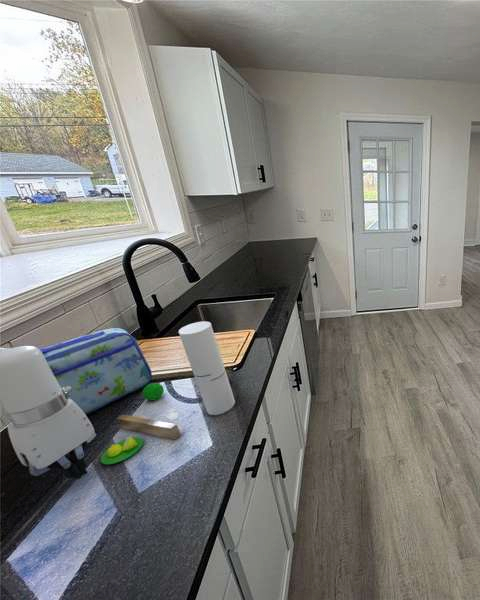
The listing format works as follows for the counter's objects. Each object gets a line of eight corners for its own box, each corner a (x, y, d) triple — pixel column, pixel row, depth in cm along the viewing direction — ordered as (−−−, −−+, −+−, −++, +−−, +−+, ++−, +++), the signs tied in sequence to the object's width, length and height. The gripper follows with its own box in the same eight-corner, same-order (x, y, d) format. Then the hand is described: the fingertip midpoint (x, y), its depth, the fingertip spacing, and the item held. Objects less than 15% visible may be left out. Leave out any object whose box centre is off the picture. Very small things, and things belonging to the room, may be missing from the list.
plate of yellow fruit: (141, 433, 80) (137, 425, 79) (146, 451, 75) (142, 442, 74) (100, 452, 75) (95, 443, 74) (102, 472, 70) (97, 463, 69)
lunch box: (41, 439, 80) (-2, 370, 73) (35, 422, 87) (-5, 357, 79) (158, 385, 100) (134, 326, 92) (146, 374, 106) (123, 318, 98)
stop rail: (122, 428, 82) (117, 418, 81) (128, 424, 84) (123, 413, 83) (175, 439, 78) (170, 428, 77) (181, 434, 79) (176, 424, 78)
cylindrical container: (208, 402, 91) (181, 325, 81) (235, 395, 93) (212, 319, 84) (205, 418, 84) (175, 336, 75) (234, 410, 87) (209, 330, 78)
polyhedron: (152, 405, 91) (146, 391, 89) (141, 401, 93) (136, 388, 91) (169, 394, 95) (164, 381, 93) (159, 391, 97) (153, 378, 95)
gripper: (71, 382, 69) (103, 445, 75) (-30, 433, 55) (21, 504, 62) (96, 386, 67) (127, 450, 74) (-2, 440, 53) (47, 512, 60)
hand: (78, 474), depth 68 cm, fingers closed
